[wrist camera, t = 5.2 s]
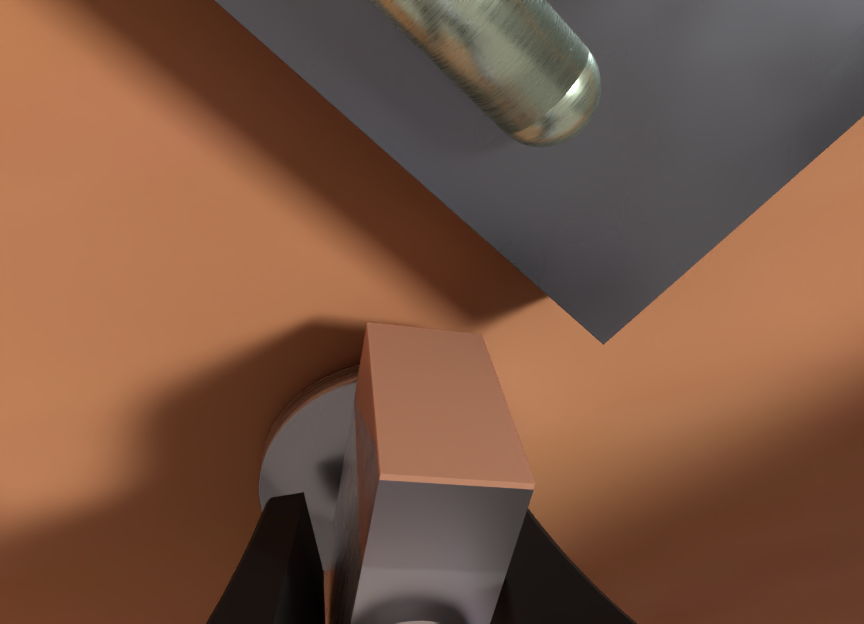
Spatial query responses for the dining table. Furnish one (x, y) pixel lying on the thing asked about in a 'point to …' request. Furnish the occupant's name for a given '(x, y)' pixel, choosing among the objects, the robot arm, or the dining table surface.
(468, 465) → the wing knob
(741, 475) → the dining table surface
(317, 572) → the robot arm
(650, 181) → the levelling base
